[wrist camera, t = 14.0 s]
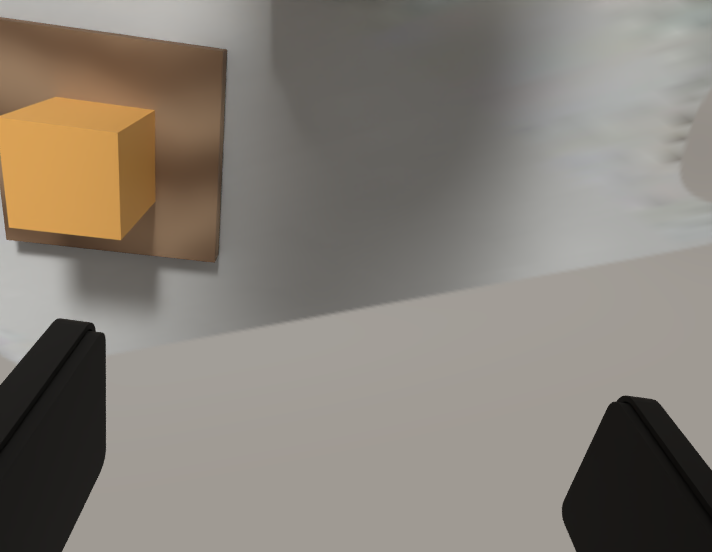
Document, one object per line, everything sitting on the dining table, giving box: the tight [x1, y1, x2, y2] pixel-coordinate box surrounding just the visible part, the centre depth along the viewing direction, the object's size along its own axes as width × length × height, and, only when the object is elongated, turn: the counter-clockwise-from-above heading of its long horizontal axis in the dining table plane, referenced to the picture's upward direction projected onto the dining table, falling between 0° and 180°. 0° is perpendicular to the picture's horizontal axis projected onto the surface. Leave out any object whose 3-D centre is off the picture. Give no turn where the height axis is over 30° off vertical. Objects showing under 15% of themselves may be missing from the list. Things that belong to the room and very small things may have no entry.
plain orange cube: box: [0, 97, 155, 240], centre depth 34 cm, size 6×6×7 cm
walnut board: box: [0, 17, 227, 263], centre depth 36 cm, size 14×14×6 cm
